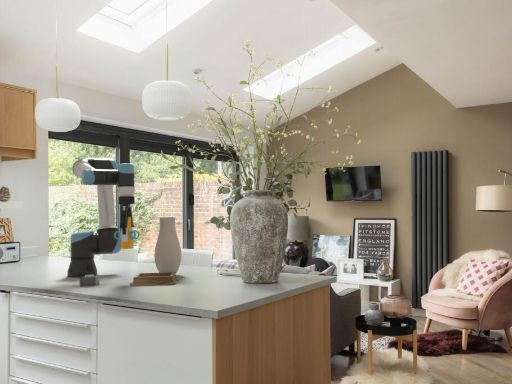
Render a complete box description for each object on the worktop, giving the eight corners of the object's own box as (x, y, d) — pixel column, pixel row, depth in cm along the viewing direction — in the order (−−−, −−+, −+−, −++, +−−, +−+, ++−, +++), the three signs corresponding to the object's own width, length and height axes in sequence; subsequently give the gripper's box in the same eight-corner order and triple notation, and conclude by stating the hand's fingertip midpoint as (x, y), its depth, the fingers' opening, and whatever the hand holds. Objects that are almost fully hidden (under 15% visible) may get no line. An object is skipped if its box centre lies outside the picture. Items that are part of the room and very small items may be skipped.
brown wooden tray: (136, 280, 246) (136, 273, 246) (178, 278, 248) (177, 271, 248) (129, 285, 227) (129, 278, 227) (175, 284, 229) (175, 276, 229)
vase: (176, 277, 255) (175, 217, 256) (150, 277, 257) (149, 217, 258) (185, 273, 268) (184, 216, 269) (160, 273, 270) (159, 217, 272)
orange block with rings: (134, 249, 237) (134, 216, 237) (112, 249, 237) (111, 217, 238) (141, 247, 249) (140, 216, 250) (120, 248, 249) (119, 217, 250)
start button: (86, 281, 234) (86, 274, 234) (95, 280, 234) (95, 274, 234) (83, 282, 230) (83, 275, 230) (93, 282, 230) (93, 275, 230)
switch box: (83, 284, 235) (83, 275, 235) (99, 283, 236) (99, 275, 236) (79, 286, 228) (79, 277, 228) (95, 286, 229) (95, 277, 229)
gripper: (123, 197, 256) (124, 240, 255) (113, 194, 232) (113, 242, 231) (138, 196, 257) (139, 240, 255) (129, 194, 232) (130, 242, 231)
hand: (127, 241), depth 243 cm, fingers closed on orange block with rings, 12 cm apart
